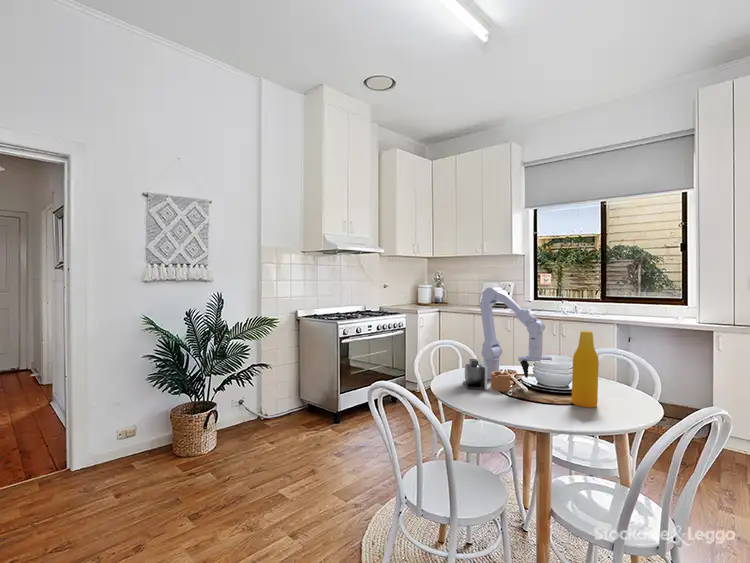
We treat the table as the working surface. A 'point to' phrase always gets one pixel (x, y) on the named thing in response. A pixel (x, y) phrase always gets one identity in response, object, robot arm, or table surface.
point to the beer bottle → (585, 372)
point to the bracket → (501, 381)
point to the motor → (475, 375)
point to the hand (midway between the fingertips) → (534, 377)
